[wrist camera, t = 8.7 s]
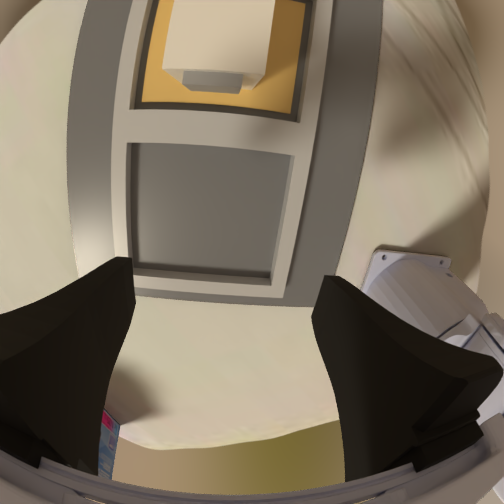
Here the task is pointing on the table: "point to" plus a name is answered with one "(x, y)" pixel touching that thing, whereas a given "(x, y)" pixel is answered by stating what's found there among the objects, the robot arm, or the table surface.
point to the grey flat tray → (220, 154)
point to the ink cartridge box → (107, 445)
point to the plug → (218, 44)
